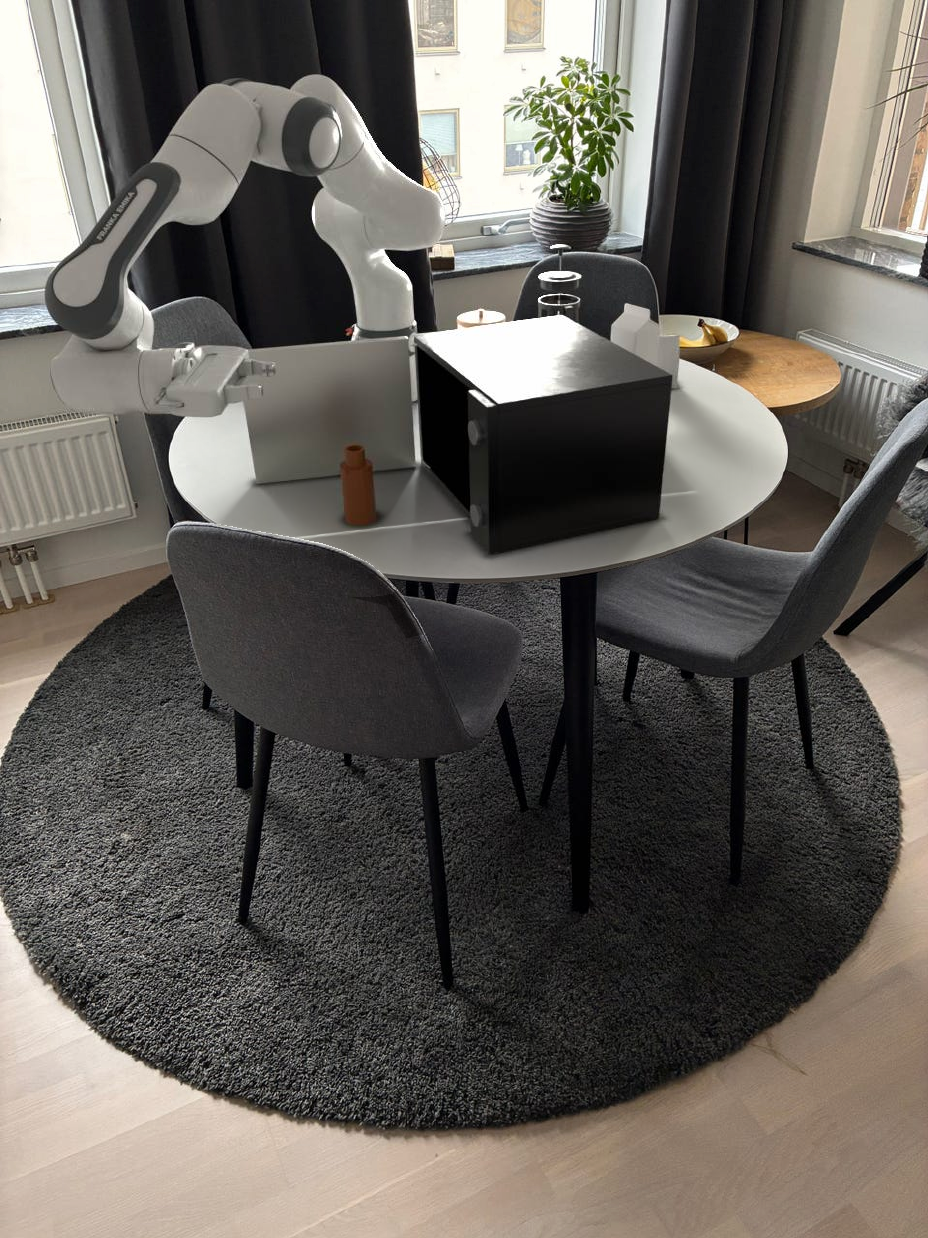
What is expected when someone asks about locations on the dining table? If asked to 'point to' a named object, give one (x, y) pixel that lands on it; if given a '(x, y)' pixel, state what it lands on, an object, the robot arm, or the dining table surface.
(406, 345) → the microwave door
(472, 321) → the trinket box
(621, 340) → the milk
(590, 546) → the dining table surface
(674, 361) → the white small box
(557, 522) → the microwave
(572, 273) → the french press
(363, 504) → the bottle
